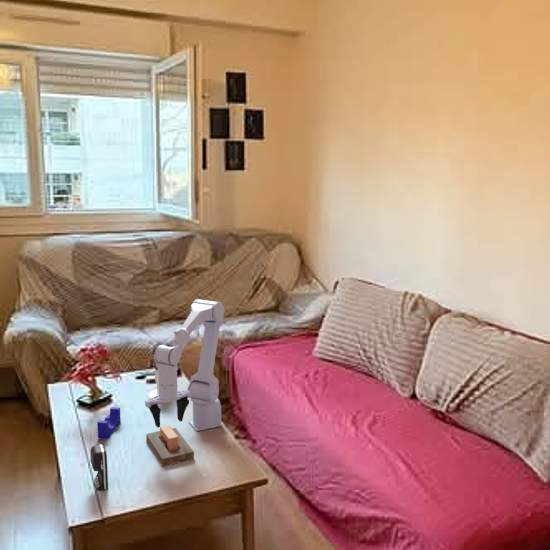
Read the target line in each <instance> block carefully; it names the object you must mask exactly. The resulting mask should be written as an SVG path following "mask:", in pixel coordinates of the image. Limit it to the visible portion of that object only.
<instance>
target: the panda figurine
mask: <svg viewBox="0 0 550 550" xmlns="http://www.w3.org/2000/svg"><path fill="white" fill-rule="evenodd" d="M154 364H155V365H154V368H155V370H154V380H155V384H156V389H154V390H151V391H150V392H149V393H148V399H150V398H153V397H155V396H157V395H159V381H158V368H157V367H156V362H155V363H154Z"/></svg>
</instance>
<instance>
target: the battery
mask: <svg viewBox="0 0 550 550" xmlns="http://www.w3.org/2000/svg"><path fill="white" fill-rule="evenodd" d="M89 451H90V455H89V457H90V464H91V468H92V469H93V471H94V472H97V473H96V475H95V477H94V479H93V480H94V486H95V489H96V490H98V491H102V490H103V491H105V490H108V488H109V479H108V478H109V473H108V472H109V471H108V455H107V450H106V447H105V445H104V443H103V444H97V445H93V446H91V448H90V450H89Z"/></svg>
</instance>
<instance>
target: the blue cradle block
mask: <svg viewBox="0 0 550 550" xmlns="http://www.w3.org/2000/svg"><path fill="white" fill-rule="evenodd" d="M121 419H122V418H121V407H116V406H114V407H113V406H112V407H110V409H109V414H106V416H105V418H104V420H98V421H97V422H96V423H97V424H96V425H97V439H98V438H101V439H100V440H107V439H109V437H110V436H111V435H112V434H113V433H114V432H115V430H116V429H117V428H118V427H119V426H120V424H121V422H122V420H121Z"/></svg>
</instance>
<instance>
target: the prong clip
mask: <svg viewBox="0 0 550 550" xmlns="http://www.w3.org/2000/svg"><path fill="white" fill-rule="evenodd" d="M159 431H160V440H161V441H162V442H164V441H167V450H168V452H169V451H174V450H178V436H177V435H176V433H175V432H174V431H173V428H172V427H171V426H170V424H168V425H162V426H160V427H159Z"/></svg>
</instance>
